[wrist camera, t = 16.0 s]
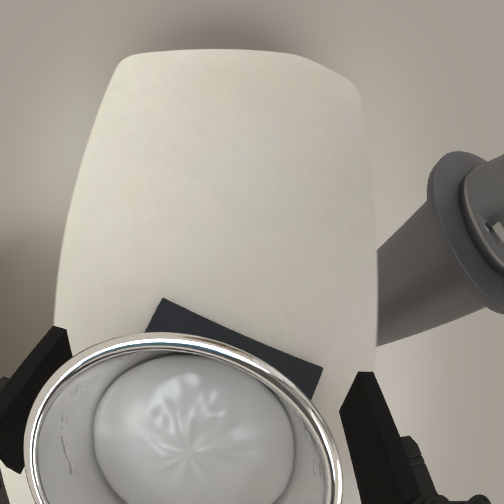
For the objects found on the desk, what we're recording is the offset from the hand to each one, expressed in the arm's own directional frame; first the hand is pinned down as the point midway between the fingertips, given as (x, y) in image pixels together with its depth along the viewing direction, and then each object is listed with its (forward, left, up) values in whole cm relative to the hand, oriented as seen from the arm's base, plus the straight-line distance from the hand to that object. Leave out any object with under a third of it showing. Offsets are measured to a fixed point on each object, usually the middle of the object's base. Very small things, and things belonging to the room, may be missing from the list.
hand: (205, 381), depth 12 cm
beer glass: (-1, +2, -7) cm, 8 cm away
